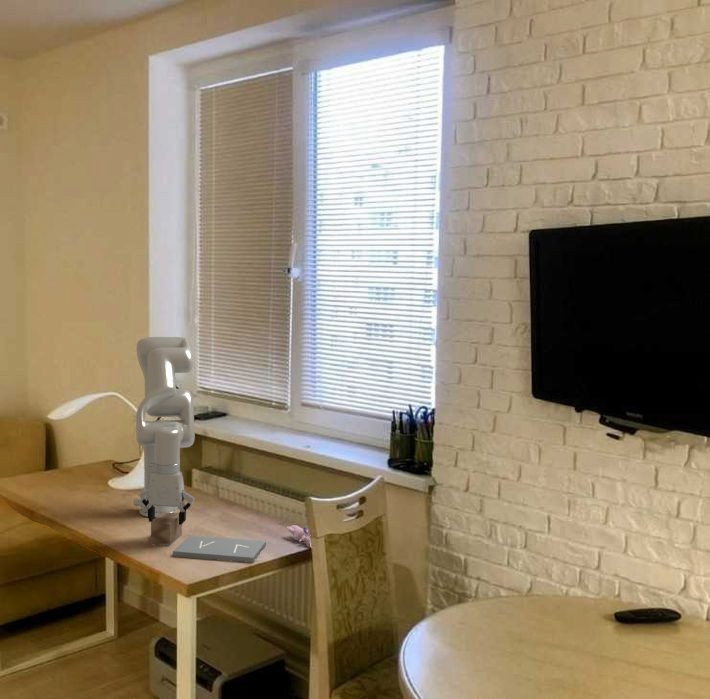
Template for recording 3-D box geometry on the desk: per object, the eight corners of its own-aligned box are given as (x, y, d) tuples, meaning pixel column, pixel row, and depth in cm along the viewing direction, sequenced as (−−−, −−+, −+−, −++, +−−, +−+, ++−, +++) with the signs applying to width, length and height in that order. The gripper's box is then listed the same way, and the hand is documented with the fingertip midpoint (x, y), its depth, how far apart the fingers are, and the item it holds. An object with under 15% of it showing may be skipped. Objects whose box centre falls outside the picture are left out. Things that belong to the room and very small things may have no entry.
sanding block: (150, 544, 235) (150, 522, 234) (163, 533, 244) (163, 512, 244) (169, 546, 234) (170, 523, 233) (181, 535, 244) (182, 513, 243)
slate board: (172, 556, 225) (172, 551, 225) (189, 540, 239) (189, 535, 239) (253, 562, 222) (253, 557, 222) (265, 546, 236) (265, 541, 236)
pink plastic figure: (323, 550, 237) (295, 529, 248) (326, 532, 236) (297, 512, 247) (307, 555, 233) (279, 533, 244) (309, 536, 232) (281, 516, 243)
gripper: (135, 469, 235) (134, 523, 237) (189, 473, 232) (189, 528, 234) (145, 462, 242) (145, 515, 244) (198, 466, 240) (197, 520, 242)
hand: (166, 521), depth 239 cm, fingers open, 9 cm apart
